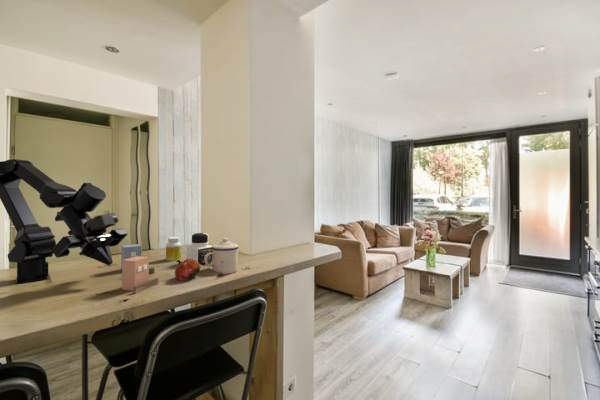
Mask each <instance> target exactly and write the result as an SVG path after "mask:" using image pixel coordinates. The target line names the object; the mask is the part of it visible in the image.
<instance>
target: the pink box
mask: <svg viewBox="0 0 600 400" xmlns="http://www.w3.org/2000/svg"><path fill="white" fill-rule="evenodd" d="M149 268H150V257H149V256H142V255H141V256H135V257H132V258H128V259H124V260H122V270H121V272H122V274H121V275H122V278H121V279H122V280H121V290H123V291H124V290H125V291H132V292H133V289H134V286H137V285H139V284H141V283H144V282H146V281H149V280H150V278H149V277H150V274H149Z"/></svg>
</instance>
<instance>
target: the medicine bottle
mask: <svg viewBox="0 0 600 400" xmlns="http://www.w3.org/2000/svg"><path fill="white" fill-rule="evenodd" d="M212 246H213V245H211V244H209V234H208V233H206V232H195V233H193V234H192V235H191V245H188V246H186V249H185V250H186V254H185V255H186V259H194V260H196V261H197V262H198V263H199V264H200V265H201V267H206V266H207V265H206V264H205V261H204V257H205V255H206V254H207V253H209V252H213V249H212ZM212 256H213V254H211V255H209V256H208V257H207V262H208V264H212ZM186 259H185V260H186ZM207 267H208V266H207Z"/></svg>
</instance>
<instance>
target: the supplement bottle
mask: <svg viewBox="0 0 600 400" xmlns="http://www.w3.org/2000/svg"><path fill="white" fill-rule="evenodd" d="M181 259H182V244H181V242H180V237H179V236H169V237H168V238H167V243H166V245H165V261H167V262H176V261H178V260H179V261H181Z"/></svg>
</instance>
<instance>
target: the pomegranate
mask: <svg viewBox="0 0 600 400" xmlns="http://www.w3.org/2000/svg"><path fill="white" fill-rule="evenodd" d="M175 263H178V265H177V267H176V268H175V269H174V276H175V279H176V281H180V282H185V281H188V280H189V279H192V278H193V279H194V280H196V279H197V278H196V277H195V276H196V275H197V274H199V272H200V270H201V269H202V265H200V264H199V263H198V262H197V261H196V260H194V259H184V260H183V261H181V260H177V261H175Z"/></svg>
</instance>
